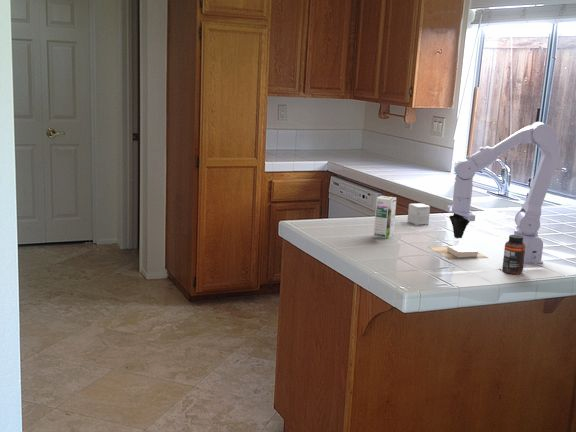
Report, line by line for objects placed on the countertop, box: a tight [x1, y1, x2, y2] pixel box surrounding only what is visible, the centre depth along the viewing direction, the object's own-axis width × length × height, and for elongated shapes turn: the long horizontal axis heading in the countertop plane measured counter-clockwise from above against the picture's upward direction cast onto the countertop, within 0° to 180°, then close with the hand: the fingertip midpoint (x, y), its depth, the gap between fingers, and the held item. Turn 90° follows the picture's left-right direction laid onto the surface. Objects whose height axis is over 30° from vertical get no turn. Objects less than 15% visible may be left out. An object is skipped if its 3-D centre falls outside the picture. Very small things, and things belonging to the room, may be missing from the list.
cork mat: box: [428, 244, 489, 260], centre depth 219 cm, size 15×14×1 cm
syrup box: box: [373, 195, 397, 239], centre depth 235 cm, size 6×6×14 cm
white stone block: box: [406, 203, 431, 226], centre depth 260 cm, size 6×6×7 cm
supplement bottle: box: [501, 234, 525, 275], centre depth 200 cm, size 6×6×11 cm
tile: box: [447, 245, 479, 258], centre depth 216 cm, size 2×7×7 cm
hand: (458, 237), depth 218 cm, fingers closed
